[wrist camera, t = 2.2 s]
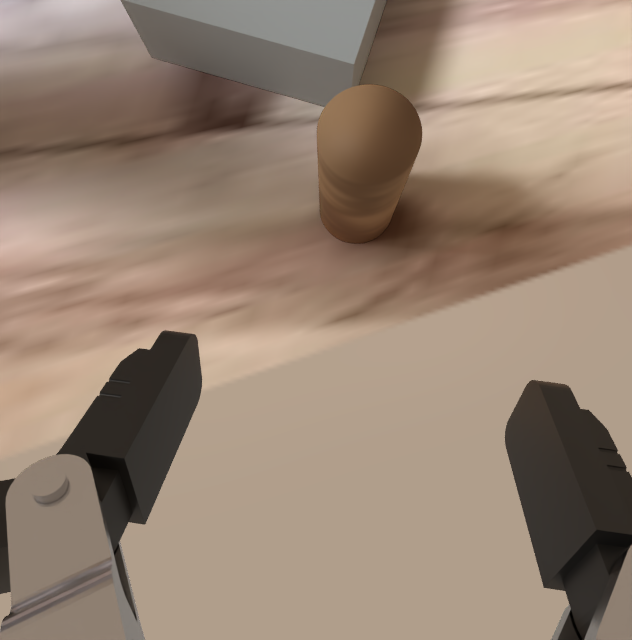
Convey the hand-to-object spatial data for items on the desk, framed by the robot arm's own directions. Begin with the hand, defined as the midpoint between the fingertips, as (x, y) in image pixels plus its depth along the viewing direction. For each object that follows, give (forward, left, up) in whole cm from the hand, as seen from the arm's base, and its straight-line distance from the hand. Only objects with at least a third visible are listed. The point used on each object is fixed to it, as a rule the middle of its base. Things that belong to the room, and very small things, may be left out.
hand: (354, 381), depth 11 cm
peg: (-2, +11, -18) cm, 22 cm away
